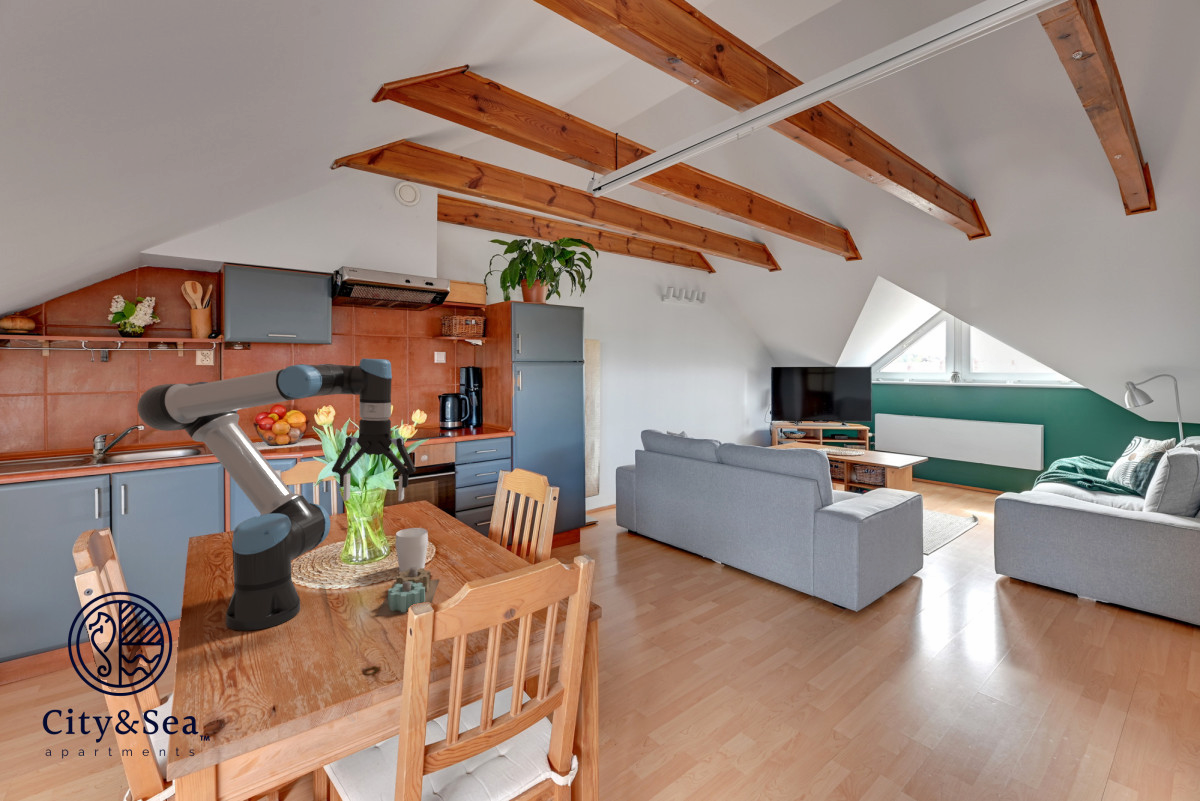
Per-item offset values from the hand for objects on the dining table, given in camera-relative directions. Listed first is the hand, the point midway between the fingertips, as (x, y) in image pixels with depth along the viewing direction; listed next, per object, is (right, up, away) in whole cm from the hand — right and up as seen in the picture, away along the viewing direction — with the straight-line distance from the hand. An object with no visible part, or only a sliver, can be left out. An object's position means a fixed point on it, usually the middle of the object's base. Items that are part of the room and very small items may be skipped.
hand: (374, 499), depth 137 cm
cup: (+4, -25, +17) cm, 31 cm away
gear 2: (+11, -25, -6) cm, 28 cm away
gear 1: (+9, -25, +3) cm, 26 cm away
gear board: (+10, -26, -1) cm, 28 cm away
